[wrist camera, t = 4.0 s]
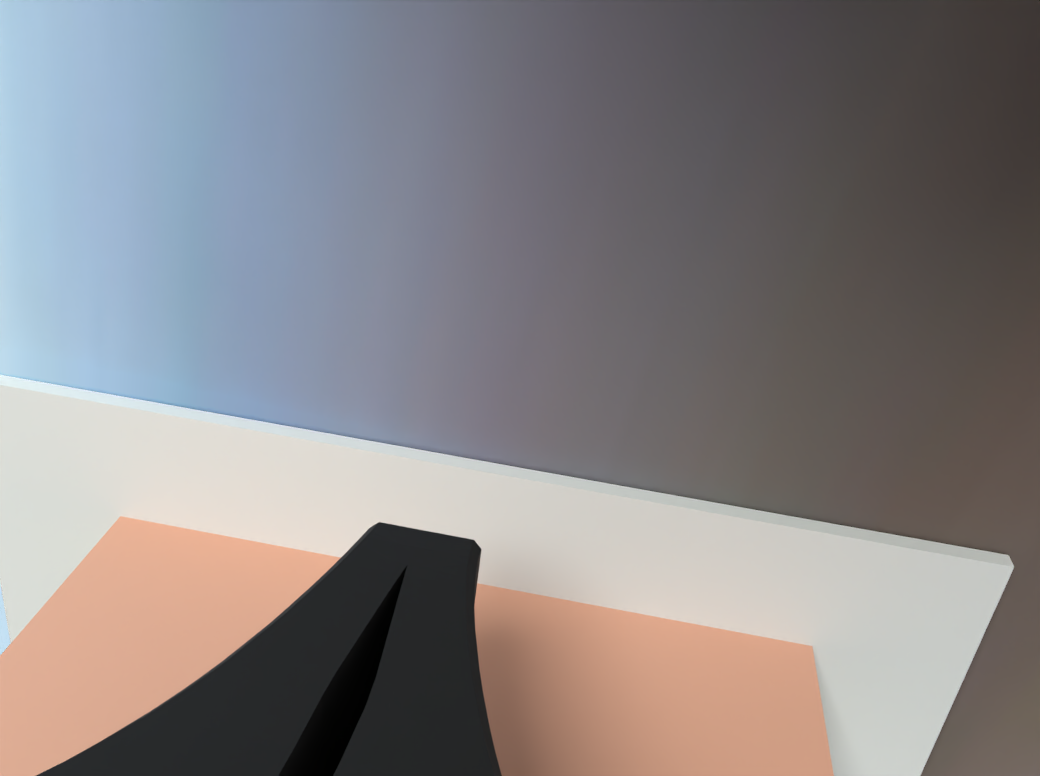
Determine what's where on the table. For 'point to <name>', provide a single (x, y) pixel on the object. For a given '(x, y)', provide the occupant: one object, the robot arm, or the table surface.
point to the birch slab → (501, 653)
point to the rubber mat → (512, 544)
